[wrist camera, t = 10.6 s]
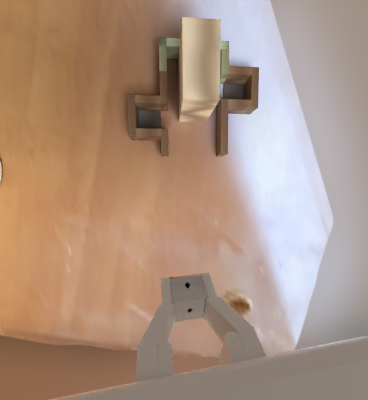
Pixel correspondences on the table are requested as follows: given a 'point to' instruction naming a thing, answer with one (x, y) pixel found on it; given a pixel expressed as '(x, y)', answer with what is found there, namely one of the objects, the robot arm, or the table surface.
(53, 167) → the table surface
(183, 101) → the beech block
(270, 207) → the table surface
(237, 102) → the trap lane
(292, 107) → the table surface
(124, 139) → the table surface
